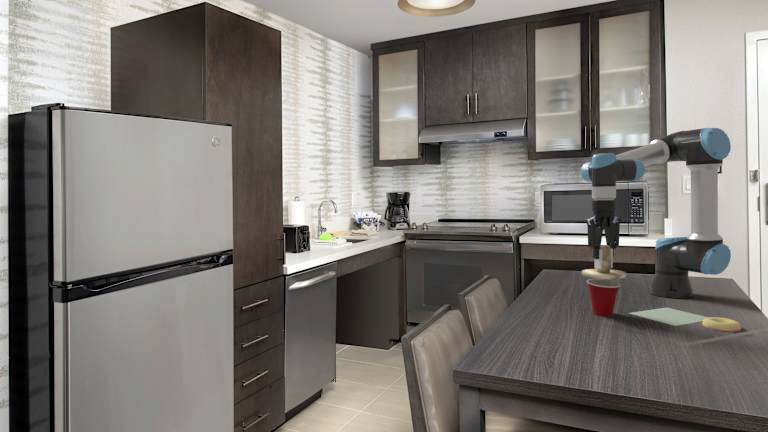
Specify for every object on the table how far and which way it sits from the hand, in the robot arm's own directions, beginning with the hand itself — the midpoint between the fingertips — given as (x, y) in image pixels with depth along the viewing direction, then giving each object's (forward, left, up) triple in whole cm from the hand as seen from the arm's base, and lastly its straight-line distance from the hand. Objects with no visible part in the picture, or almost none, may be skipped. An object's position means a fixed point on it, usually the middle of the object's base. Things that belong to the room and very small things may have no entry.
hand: (603, 267), depth 177 cm
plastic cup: (0, 0, -17) cm, 17 cm away
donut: (-19, +28, -17) cm, 38 cm away
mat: (-17, +12, -17) cm, 27 cm away
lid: (0, 0, -3) cm, 3 cm away
